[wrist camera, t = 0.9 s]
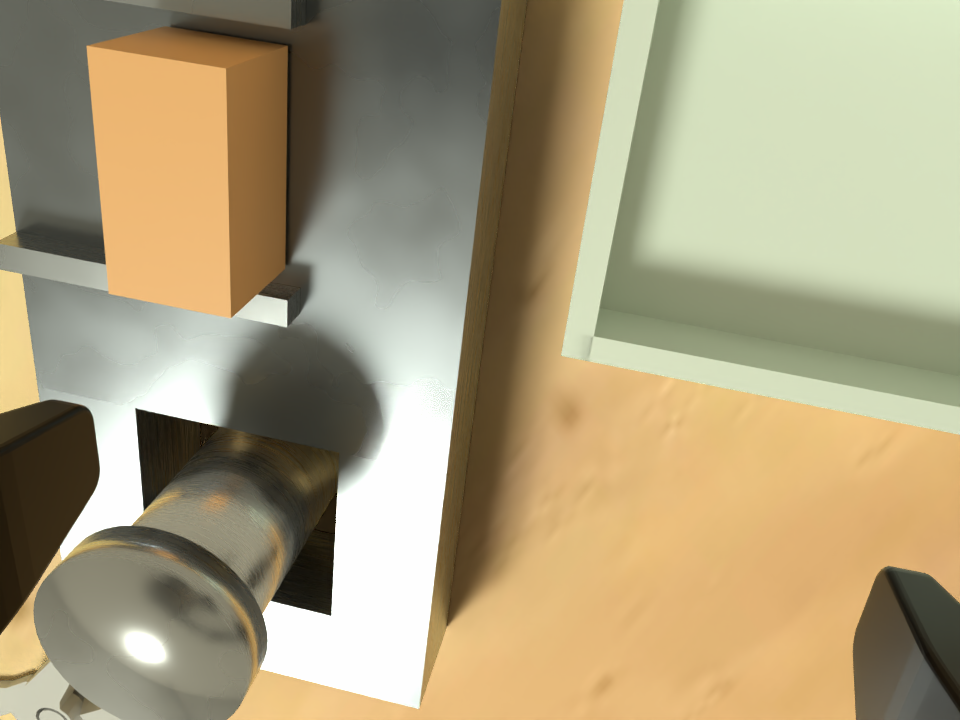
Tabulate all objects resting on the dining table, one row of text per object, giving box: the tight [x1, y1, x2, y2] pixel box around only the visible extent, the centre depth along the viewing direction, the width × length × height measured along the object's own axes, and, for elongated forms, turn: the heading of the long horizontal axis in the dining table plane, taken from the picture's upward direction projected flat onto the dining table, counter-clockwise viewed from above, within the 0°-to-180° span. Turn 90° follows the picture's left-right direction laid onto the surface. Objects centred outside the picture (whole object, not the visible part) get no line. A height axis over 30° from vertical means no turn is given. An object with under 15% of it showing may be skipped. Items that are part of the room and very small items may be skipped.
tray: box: [561, 0, 960, 435], centre depth 17 cm, size 10×9×2 cm
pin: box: [34, 427, 339, 720], centre depth 21 cm, size 5×5×8 cm
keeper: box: [87, 26, 288, 318], centre depth 17 cm, size 2×4×2 cm, turn 174°
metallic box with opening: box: [0, 0, 527, 709], centre depth 21 cm, size 10×18×4 cm, turn 173°
